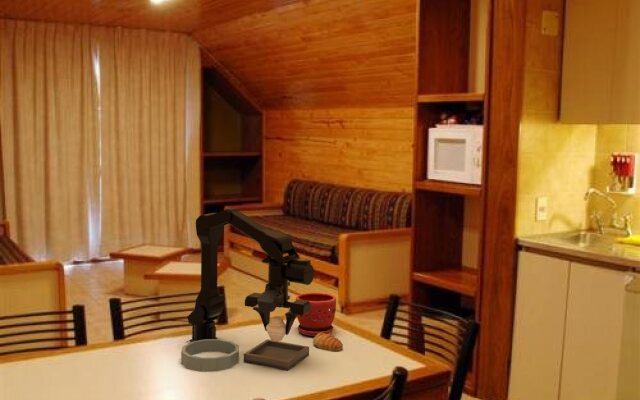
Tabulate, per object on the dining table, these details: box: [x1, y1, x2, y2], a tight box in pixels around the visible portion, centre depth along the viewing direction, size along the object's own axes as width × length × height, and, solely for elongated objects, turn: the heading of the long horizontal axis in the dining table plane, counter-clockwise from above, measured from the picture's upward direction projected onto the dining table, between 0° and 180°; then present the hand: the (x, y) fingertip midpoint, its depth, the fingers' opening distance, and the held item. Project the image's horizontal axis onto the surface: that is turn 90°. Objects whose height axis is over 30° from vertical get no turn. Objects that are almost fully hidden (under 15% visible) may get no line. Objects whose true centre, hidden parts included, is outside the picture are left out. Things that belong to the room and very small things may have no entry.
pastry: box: [312, 333, 344, 352], centre depth 201 cm, size 9×7×4 cm
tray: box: [243, 338, 310, 372], centre depth 190 cm, size 14×14×2 cm
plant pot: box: [295, 292, 337, 337], centre depth 214 cm, size 13×13×12 cm
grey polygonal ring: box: [180, 338, 240, 372], centre depth 187 cm, size 16×16×4 cm
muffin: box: [266, 315, 286, 342], centre depth 189 cm, size 6×6×7 cm
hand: (276, 332), depth 189 cm, fingers closed on muffin, 6 cm apart
